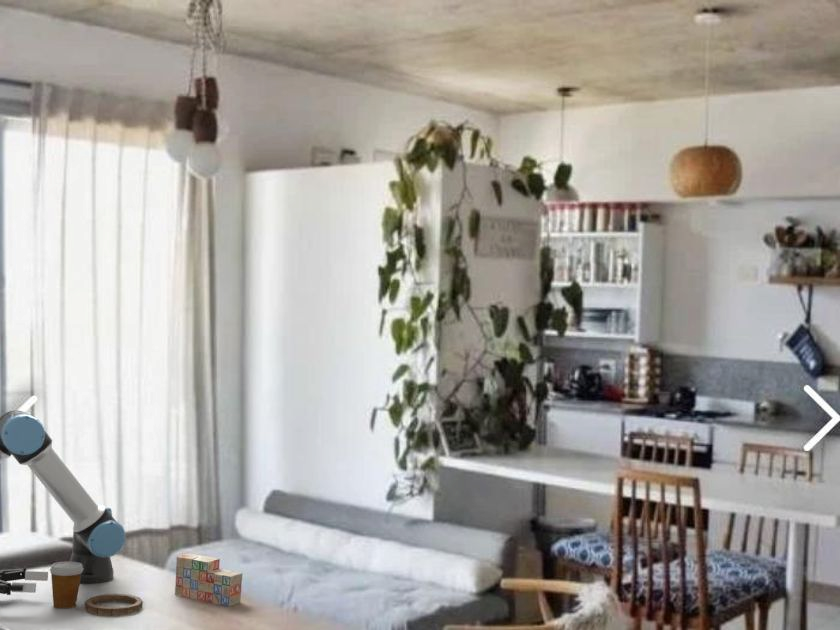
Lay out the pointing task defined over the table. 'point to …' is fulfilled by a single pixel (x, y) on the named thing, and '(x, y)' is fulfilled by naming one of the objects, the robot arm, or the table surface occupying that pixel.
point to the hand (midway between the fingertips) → (41, 581)
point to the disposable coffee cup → (65, 583)
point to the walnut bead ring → (113, 611)
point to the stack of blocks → (207, 580)
